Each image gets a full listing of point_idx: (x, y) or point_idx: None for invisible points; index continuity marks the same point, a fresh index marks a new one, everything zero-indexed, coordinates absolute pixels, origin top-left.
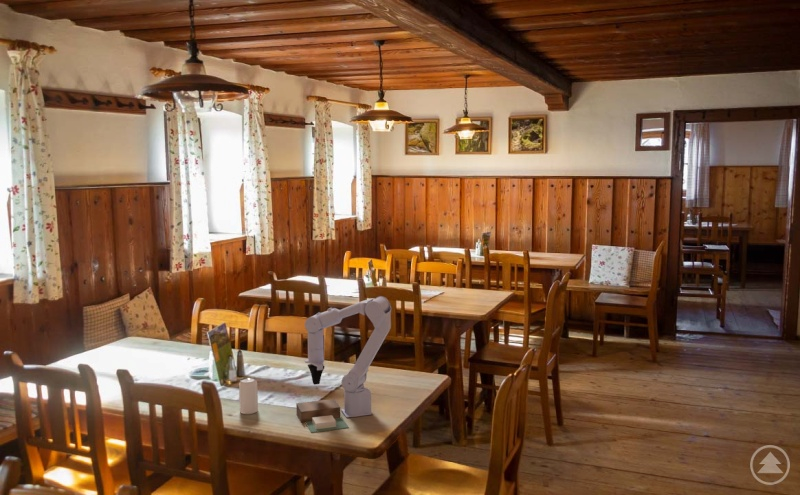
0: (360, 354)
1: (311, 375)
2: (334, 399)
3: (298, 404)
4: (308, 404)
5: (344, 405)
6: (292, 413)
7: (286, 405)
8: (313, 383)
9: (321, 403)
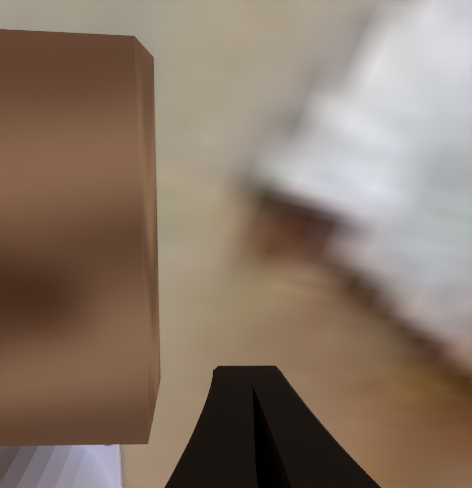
0: None
1: (323, 464)
2: (131, 442)
3: (79, 52)
4: (48, 173)
5: (18, 477)
6: (181, 20)
7: (419, 12)
8: (231, 371)
9: (46, 312)
